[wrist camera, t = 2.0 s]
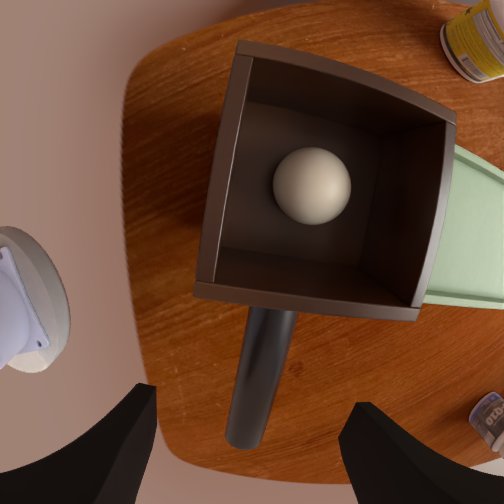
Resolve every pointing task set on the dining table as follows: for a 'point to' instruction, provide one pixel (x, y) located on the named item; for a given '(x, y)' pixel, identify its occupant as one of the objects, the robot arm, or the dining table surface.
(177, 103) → the dining table surface
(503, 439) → the pill bottle
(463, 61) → the supplement bottle
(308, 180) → the ball
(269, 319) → the brown rectangular box
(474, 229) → the tray
